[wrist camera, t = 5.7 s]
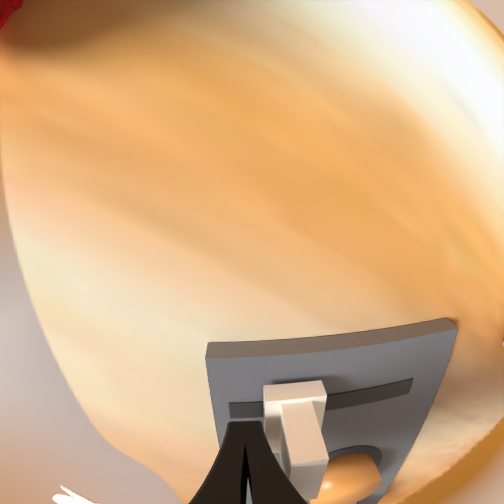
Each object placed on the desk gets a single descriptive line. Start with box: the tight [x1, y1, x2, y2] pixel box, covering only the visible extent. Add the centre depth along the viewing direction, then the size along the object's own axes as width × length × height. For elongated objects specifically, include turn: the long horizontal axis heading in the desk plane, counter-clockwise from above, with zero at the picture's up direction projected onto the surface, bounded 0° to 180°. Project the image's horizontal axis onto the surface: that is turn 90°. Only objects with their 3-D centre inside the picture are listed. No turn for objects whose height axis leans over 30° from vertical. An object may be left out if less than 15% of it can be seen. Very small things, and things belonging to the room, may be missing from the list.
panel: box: [205, 318, 458, 504], centre depth 14 cm, size 12×20×1 cm, turn 2°
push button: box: [310, 453, 382, 504], centre depth 13 cm, size 4×4×2 cm
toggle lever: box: [263, 380, 329, 501], centre depth 10 cm, size 2×4×4 cm, turn 2°
